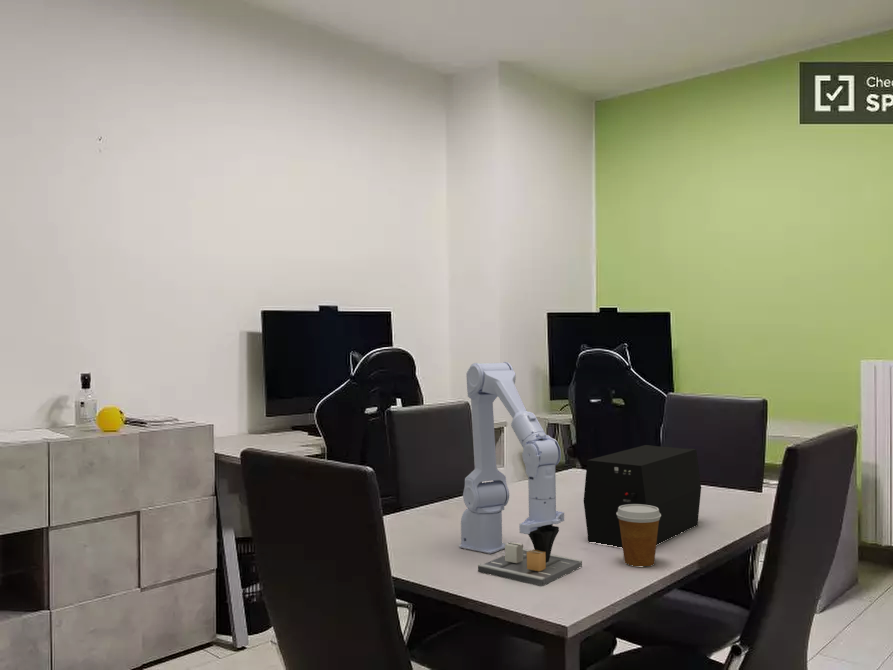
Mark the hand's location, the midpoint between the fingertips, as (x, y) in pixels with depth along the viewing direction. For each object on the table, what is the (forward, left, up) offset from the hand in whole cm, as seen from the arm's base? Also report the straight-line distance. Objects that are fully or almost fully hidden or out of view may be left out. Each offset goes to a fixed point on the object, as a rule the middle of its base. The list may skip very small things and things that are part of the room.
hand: (543, 561), depth 162 cm
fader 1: (-7, -1, -1) cm, 7 cm away
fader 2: (0, -3, -1) cm, 3 cm away
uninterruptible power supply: (+3, +42, -3) cm, 42 cm away
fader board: (-4, 0, -2) cm, 4 cm away
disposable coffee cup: (+13, +18, -3) cm, 23 cm away
